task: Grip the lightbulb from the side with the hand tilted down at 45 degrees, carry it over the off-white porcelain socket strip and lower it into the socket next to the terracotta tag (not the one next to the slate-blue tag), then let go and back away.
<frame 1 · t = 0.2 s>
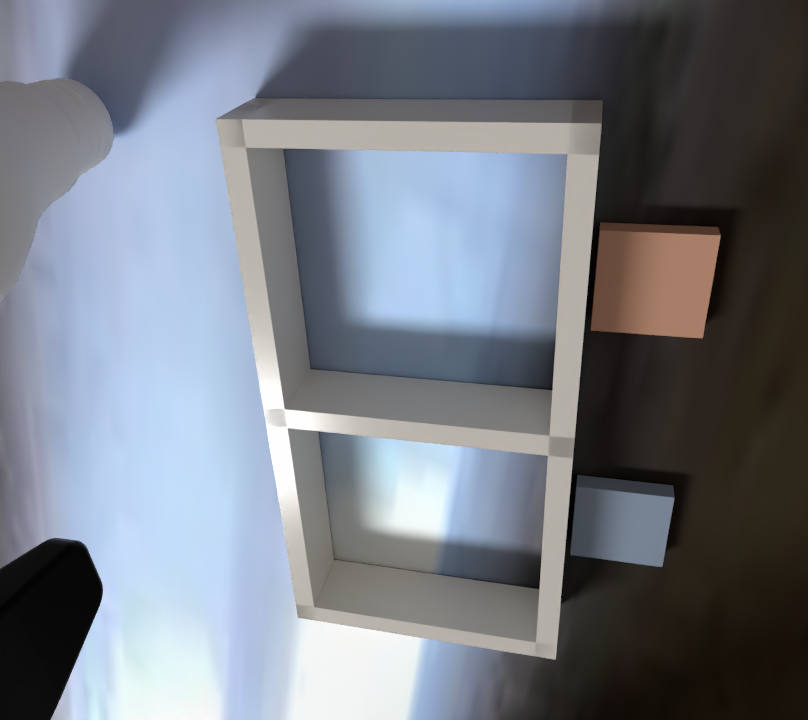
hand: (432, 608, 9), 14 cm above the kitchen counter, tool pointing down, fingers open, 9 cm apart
lightbulb: (93, 115, 23), on the kitchen counter
socket board: (428, 388, 25), on the kitchen counter
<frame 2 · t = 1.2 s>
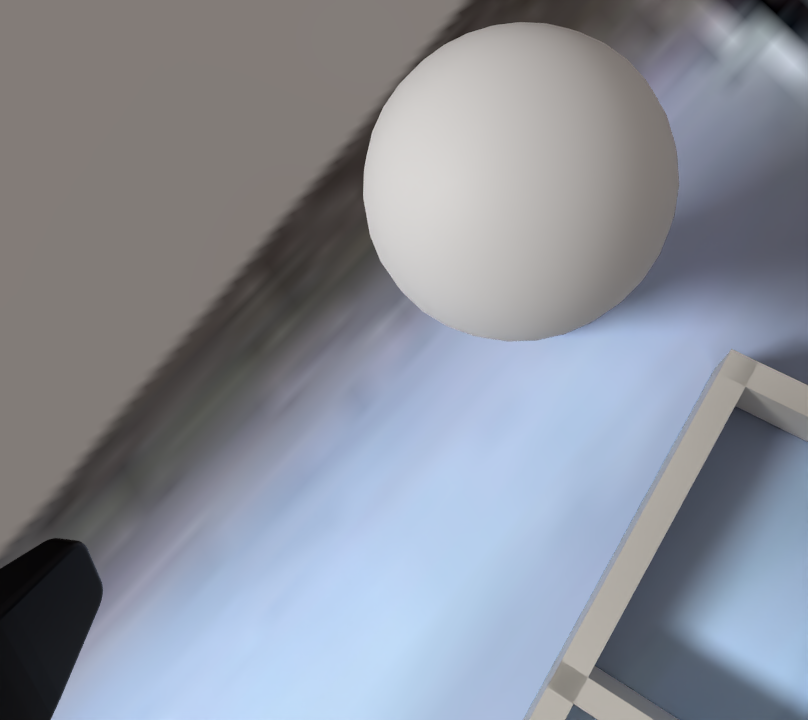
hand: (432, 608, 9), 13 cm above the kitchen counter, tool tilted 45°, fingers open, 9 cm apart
lightbulb: (537, 303, 23), on the kitchen counter
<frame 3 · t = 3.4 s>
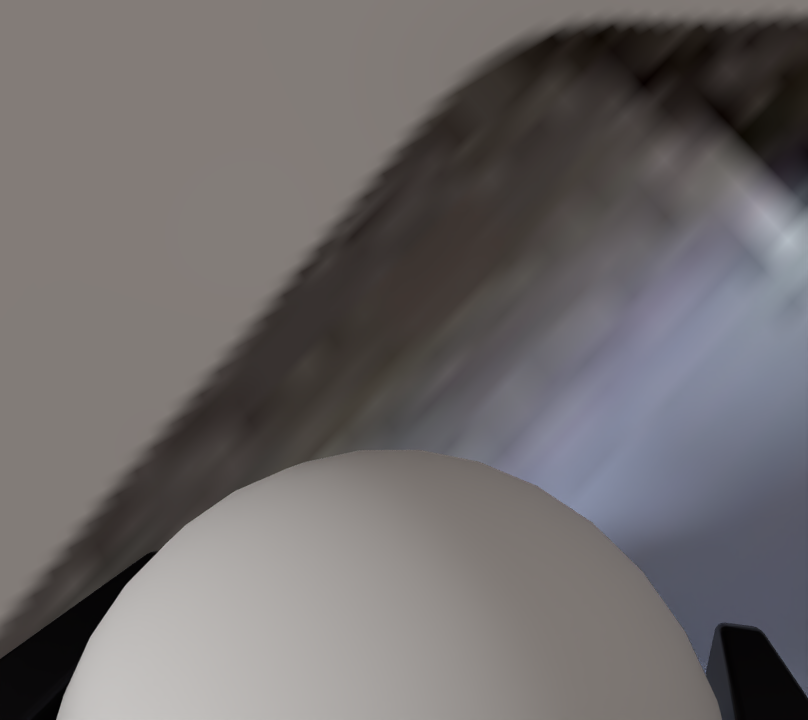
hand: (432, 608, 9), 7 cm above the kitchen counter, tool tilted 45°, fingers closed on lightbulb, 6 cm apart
lightbulb: (489, 647, 15), on the kitchen counter, touching gripper
when the fingers open (8 cm above the kitchen counter, at t = 7.0 s): lightbulb drops 1 cm, resting in socket board.
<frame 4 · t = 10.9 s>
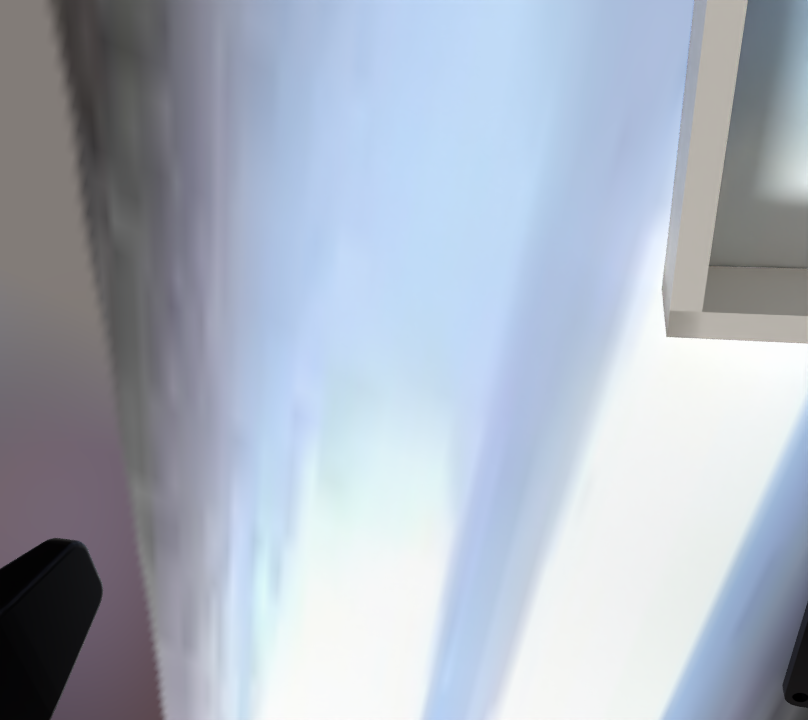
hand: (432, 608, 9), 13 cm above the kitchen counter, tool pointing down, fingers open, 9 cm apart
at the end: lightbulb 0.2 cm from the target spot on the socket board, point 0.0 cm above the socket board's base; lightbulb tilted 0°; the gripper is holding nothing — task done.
